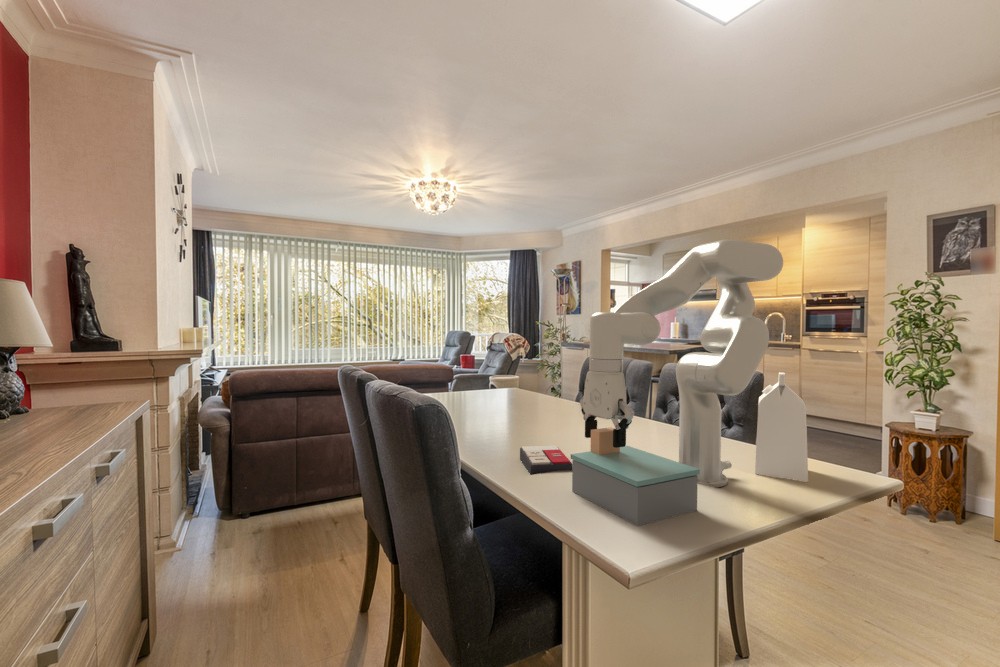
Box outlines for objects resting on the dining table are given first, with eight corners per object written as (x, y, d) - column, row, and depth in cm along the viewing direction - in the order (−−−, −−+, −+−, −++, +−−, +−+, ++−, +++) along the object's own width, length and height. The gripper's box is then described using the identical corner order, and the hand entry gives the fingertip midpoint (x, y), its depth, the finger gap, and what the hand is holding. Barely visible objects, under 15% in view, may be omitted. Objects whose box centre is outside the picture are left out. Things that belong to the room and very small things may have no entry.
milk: (808, 482, 115) (810, 376, 114) (754, 474, 120) (756, 374, 120) (804, 469, 125) (806, 372, 125) (755, 462, 131) (757, 370, 130)
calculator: (531, 462, 117) (519, 444, 132) (530, 479, 118) (519, 459, 133) (573, 461, 119) (557, 443, 134) (572, 477, 119) (556, 458, 134)
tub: (626, 485, 111) (627, 451, 111) (697, 515, 93) (697, 475, 93) (572, 495, 104) (572, 460, 104) (637, 531, 86) (637, 487, 86)
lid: (627, 450, 111) (628, 425, 111) (699, 474, 93) (700, 444, 93) (570, 458, 104) (570, 431, 103) (636, 486, 85) (637, 454, 85)
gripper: (569, 364, 112) (568, 435, 112) (619, 370, 96) (618, 453, 96) (594, 363, 115) (593, 432, 115) (646, 369, 100) (644, 449, 100)
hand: (604, 441), depth 106 cm, fingers open, 9 cm apart
